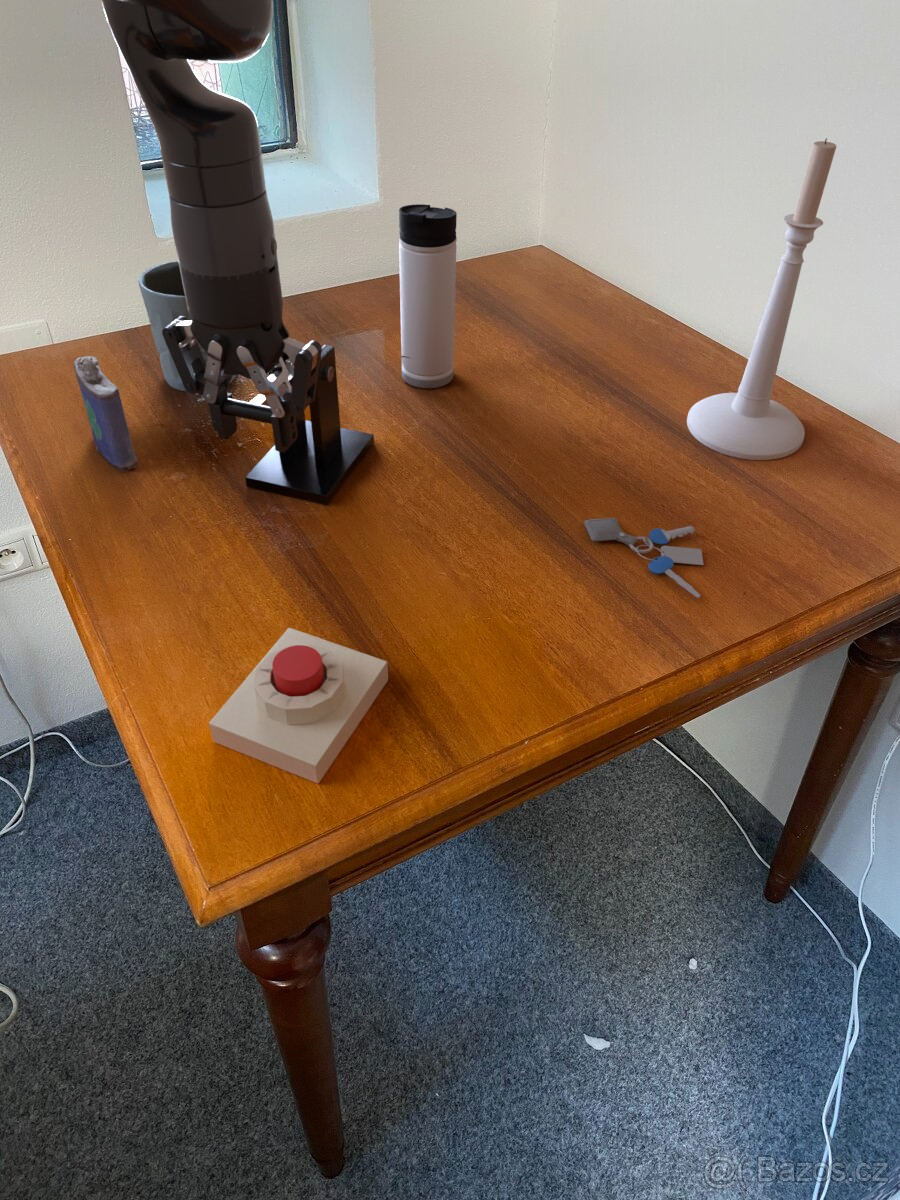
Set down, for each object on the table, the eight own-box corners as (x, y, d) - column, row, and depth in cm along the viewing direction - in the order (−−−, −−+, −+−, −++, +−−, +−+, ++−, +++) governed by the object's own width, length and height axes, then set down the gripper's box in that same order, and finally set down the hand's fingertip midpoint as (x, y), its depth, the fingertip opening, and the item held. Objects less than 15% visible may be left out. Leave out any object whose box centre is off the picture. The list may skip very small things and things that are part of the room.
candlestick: (827, 440, 97) (934, 148, 77) (742, 472, 92) (832, 168, 72) (745, 389, 105) (822, 112, 85) (663, 416, 100) (723, 129, 80)
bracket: (327, 505, 87) (316, 389, 78) (246, 487, 89) (227, 372, 80) (374, 443, 95) (369, 332, 86) (299, 428, 97) (286, 318, 88)
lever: (274, 432, 76) (272, 407, 75) (223, 422, 78) (220, 396, 76) (332, 379, 86) (332, 356, 84) (286, 370, 87) (285, 347, 85)
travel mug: (392, 384, 105) (386, 211, 91) (414, 360, 109) (412, 191, 96) (440, 395, 103) (442, 220, 89) (461, 370, 107) (466, 200, 94)
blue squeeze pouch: (141, 467, 91) (116, 373, 84) (113, 476, 90) (85, 381, 82) (113, 427, 96) (87, 336, 89) (87, 435, 95) (58, 343, 88)
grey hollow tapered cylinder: (157, 361, 108) (135, 264, 100) (240, 350, 110) (225, 254, 102) (164, 401, 101) (141, 300, 93) (252, 389, 103) (237, 289, 95)
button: (307, 703, 63) (305, 687, 62) (265, 687, 64) (262, 671, 63) (332, 670, 66) (331, 653, 64) (291, 655, 67) (288, 639, 65)
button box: (318, 784, 62) (313, 749, 60) (213, 742, 65) (203, 706, 62) (388, 680, 70) (387, 645, 67) (291, 645, 72) (286, 610, 70)
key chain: (571, 532, 84) (572, 525, 83) (622, 497, 88) (623, 490, 88) (696, 603, 77) (698, 596, 76) (745, 560, 81) (747, 553, 81)
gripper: (118, 257, 66) (164, 447, 78) (289, 285, 63) (310, 479, 75) (172, 223, 72) (208, 406, 83) (332, 248, 68) (346, 435, 80)
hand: (256, 440), depth 79 cm, fingers closed on lever, 5 cm apart
